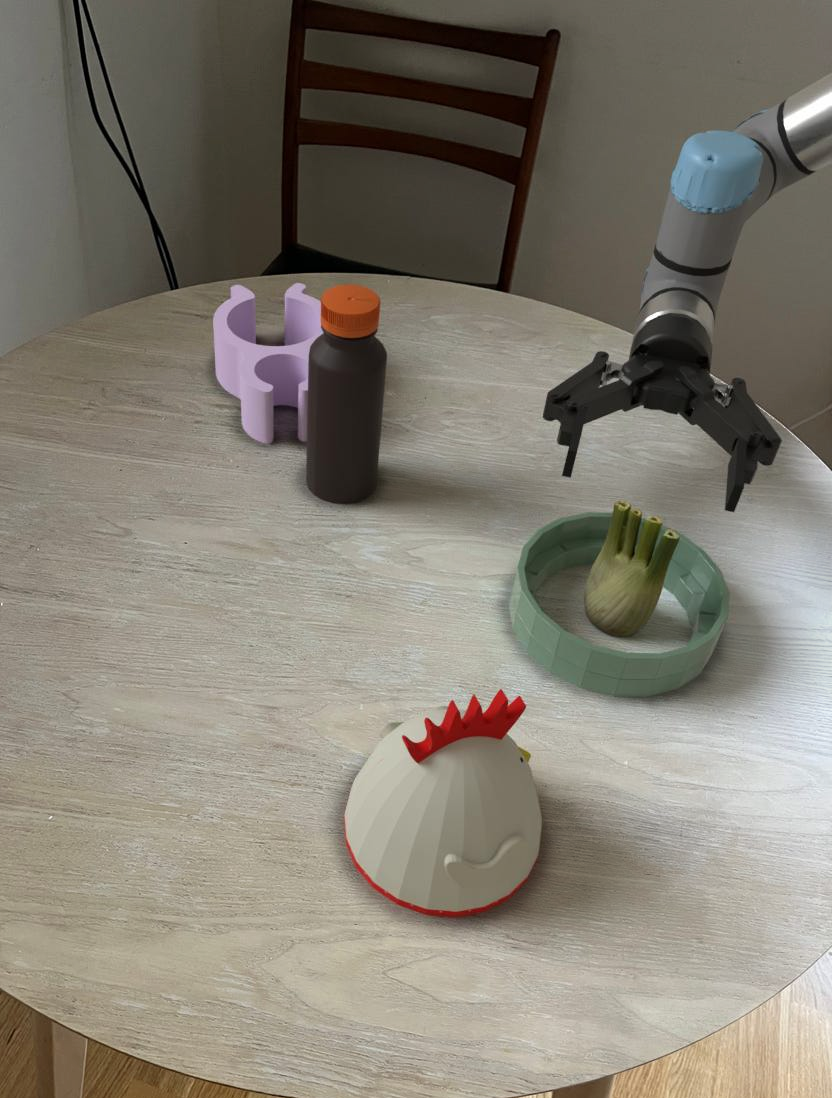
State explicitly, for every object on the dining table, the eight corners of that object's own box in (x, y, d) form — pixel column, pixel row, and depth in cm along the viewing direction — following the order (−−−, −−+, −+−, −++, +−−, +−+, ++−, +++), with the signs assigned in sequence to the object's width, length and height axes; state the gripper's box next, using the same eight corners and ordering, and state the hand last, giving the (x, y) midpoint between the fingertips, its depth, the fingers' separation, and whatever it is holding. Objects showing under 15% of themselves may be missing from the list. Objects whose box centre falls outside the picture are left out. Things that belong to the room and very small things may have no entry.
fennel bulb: (651, 640, 91) (691, 533, 82) (599, 652, 90) (633, 544, 81) (619, 593, 94) (654, 486, 86) (569, 604, 93) (598, 496, 84)
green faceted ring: (715, 583, 97) (734, 537, 93) (702, 726, 85) (723, 681, 81) (527, 540, 99) (537, 494, 95) (490, 673, 88) (500, 627, 84)
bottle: (359, 460, 106) (371, 272, 92) (387, 502, 102) (405, 312, 88) (295, 475, 104) (297, 285, 90) (321, 518, 100) (328, 327, 85)
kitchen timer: (570, 889, 75) (620, 760, 64) (387, 949, 71) (406, 823, 60) (485, 738, 83) (516, 601, 72) (317, 784, 80) (323, 648, 69)
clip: (348, 447, 108) (351, 388, 103) (223, 453, 106) (220, 394, 101) (323, 339, 121) (325, 282, 116) (212, 343, 119) (209, 285, 114)
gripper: (791, 408, 104) (789, 548, 90) (536, 358, 108) (496, 485, 94) (819, 339, 98) (822, 477, 84) (549, 289, 102) (509, 413, 88)
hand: (650, 481), depth 89 cm, fingers open, 13 cm apart
